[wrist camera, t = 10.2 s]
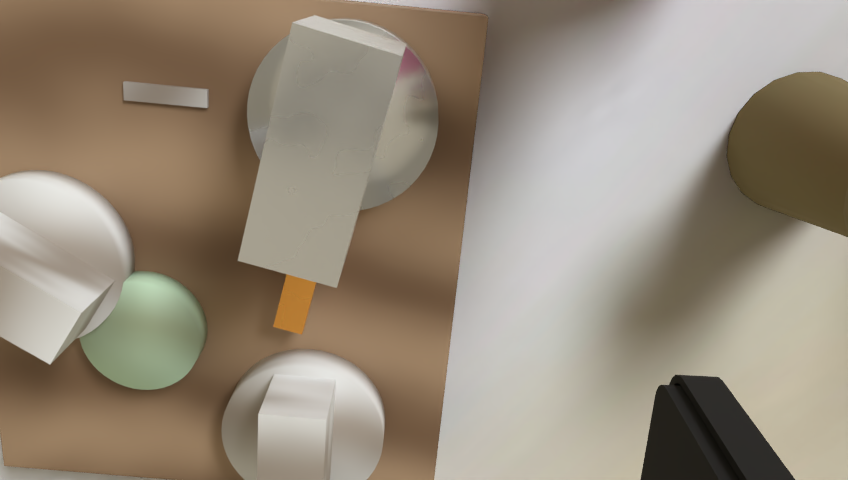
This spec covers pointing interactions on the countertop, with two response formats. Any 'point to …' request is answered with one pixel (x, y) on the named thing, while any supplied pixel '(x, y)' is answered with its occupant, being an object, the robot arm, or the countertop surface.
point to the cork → (795, 149)
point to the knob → (330, 147)
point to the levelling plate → (209, 253)
